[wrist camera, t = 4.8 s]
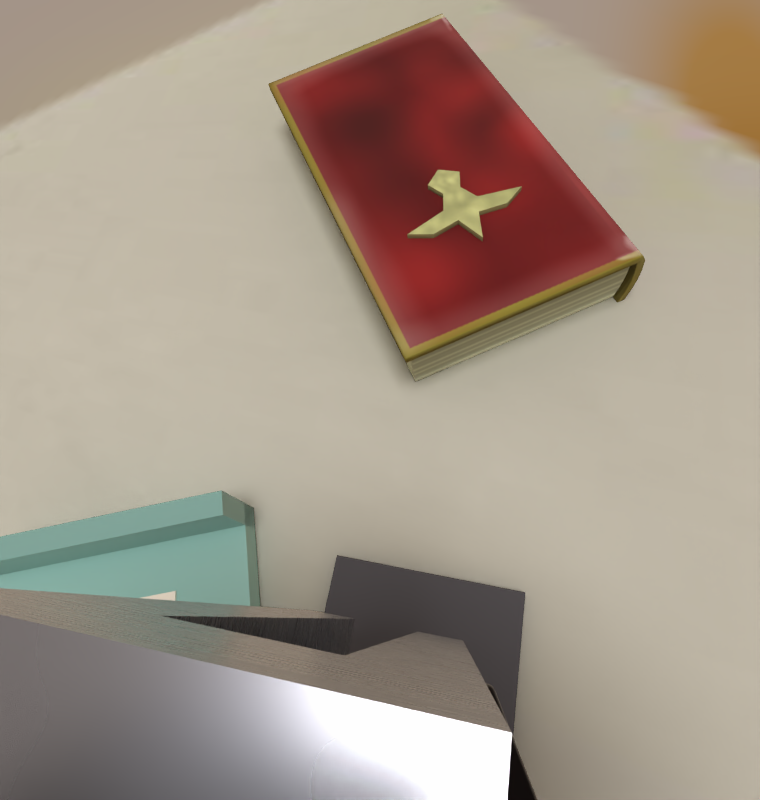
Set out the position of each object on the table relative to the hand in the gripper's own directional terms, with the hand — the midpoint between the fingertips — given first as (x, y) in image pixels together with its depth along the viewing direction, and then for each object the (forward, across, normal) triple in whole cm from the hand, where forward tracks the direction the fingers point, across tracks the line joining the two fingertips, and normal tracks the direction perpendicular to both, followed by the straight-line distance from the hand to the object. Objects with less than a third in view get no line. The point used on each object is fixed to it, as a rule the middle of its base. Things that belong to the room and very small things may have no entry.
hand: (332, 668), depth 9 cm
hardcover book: (+26, +2, -7) cm, 27 cm away
